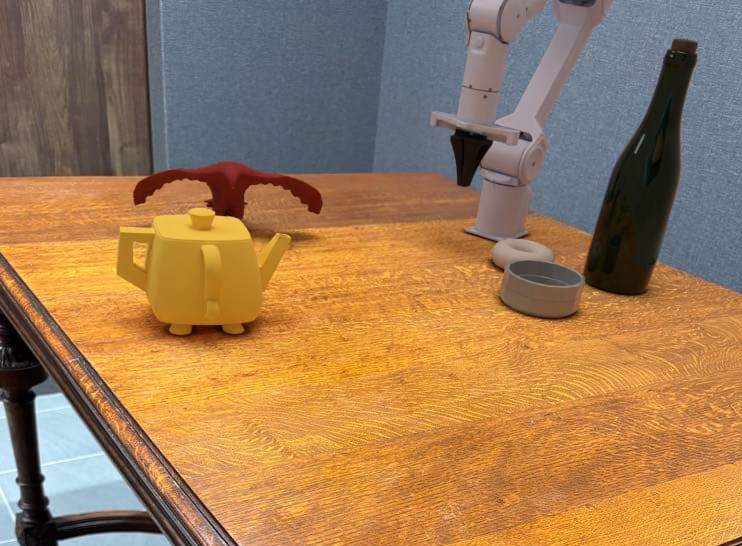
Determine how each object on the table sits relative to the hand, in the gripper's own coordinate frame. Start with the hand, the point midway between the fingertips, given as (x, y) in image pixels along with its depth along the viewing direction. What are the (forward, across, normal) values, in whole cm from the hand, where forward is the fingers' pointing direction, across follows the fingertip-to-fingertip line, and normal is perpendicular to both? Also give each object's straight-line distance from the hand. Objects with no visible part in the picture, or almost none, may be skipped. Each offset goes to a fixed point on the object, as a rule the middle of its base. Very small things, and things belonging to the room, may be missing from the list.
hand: (463, 185), depth 128 cm
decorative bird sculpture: (+10, -26, -25) cm, 38 cm away
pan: (+10, +22, -13) cm, 27 cm away
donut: (+10, +13, 0) cm, 16 cm away
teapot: (+11, -5, -52) cm, 54 cm away
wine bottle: (+9, +26, +6) cm, 28 cm away
